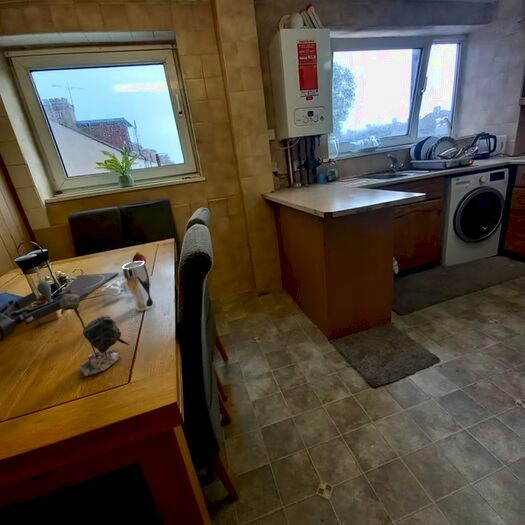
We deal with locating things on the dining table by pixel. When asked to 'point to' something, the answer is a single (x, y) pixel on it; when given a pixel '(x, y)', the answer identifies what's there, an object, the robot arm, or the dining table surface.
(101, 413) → the dining table surface
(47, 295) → the rubber stamp
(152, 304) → the beer glass
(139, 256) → the onion
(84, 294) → the ink pad
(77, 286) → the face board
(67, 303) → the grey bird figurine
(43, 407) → the dining table surface
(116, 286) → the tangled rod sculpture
